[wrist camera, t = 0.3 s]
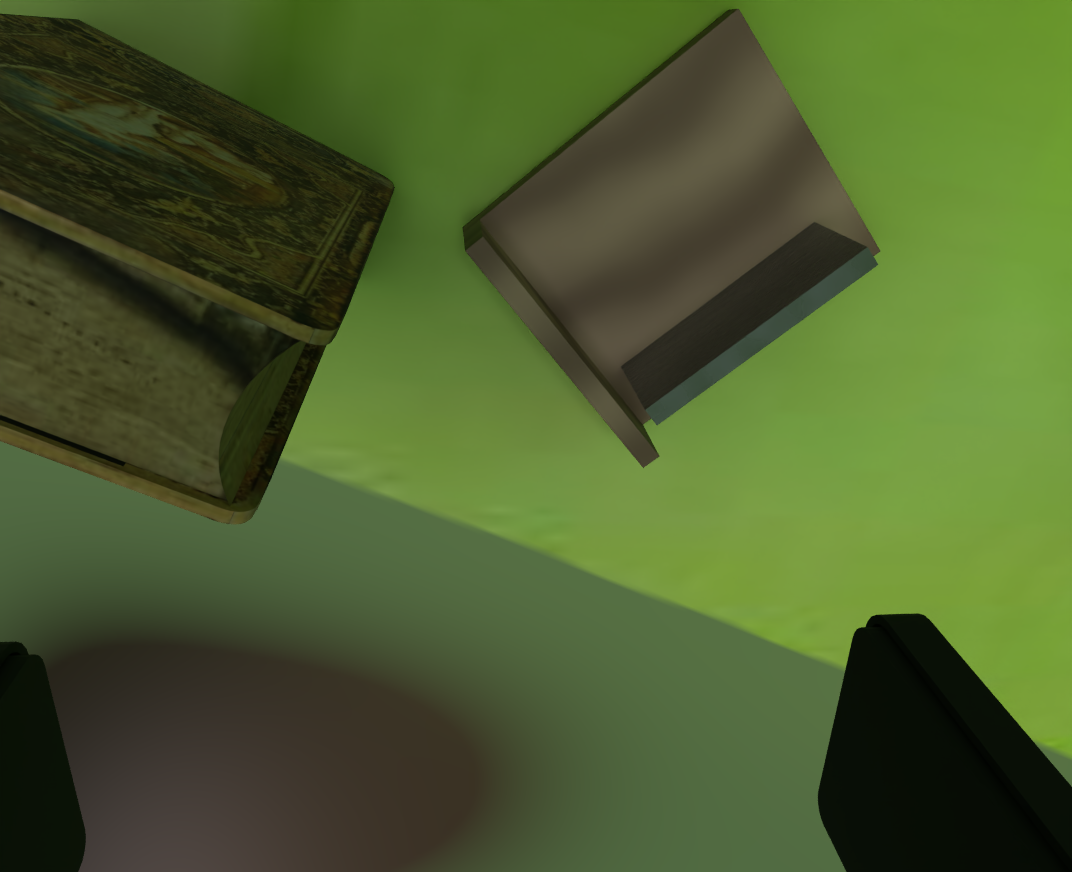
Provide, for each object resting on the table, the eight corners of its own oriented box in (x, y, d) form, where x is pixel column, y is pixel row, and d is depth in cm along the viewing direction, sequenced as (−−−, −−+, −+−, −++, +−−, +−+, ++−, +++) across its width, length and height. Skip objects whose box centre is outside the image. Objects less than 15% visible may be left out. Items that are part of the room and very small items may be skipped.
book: (13, 122, 39) (-580, 227, 16) (47, 3, 37) (-565, -64, 15) (352, 281, 44) (252, 535, 21) (396, 181, 42) (341, 341, 19)
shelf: (462, 227, 43) (466, 261, 36) (728, 9, 40) (786, 2, 33) (622, 424, 48) (652, 486, 42) (867, 245, 45) (941, 280, 39)
